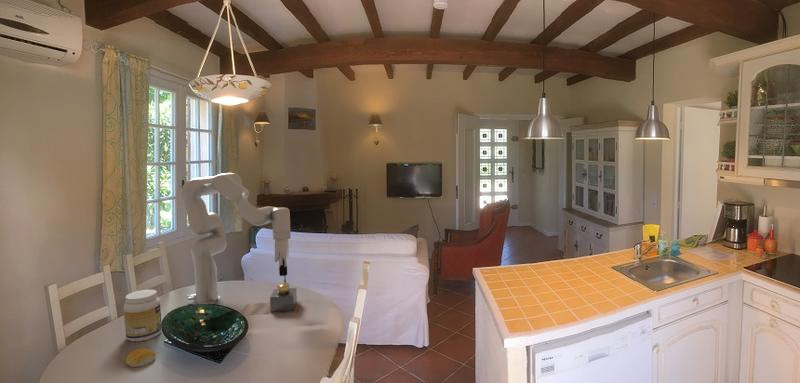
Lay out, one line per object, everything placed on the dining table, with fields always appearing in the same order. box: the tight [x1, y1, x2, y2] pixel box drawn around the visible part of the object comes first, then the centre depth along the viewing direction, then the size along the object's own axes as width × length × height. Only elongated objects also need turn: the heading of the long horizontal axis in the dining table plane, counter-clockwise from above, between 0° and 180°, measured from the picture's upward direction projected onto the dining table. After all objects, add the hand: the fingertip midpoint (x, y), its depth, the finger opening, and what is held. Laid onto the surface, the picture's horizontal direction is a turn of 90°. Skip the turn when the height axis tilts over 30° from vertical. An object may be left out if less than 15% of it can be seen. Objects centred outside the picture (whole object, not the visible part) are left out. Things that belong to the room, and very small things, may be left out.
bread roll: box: [125, 347, 157, 368], centre depth 137 cm, size 8×9×4 cm
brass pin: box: [276, 282, 290, 295], centre depth 179 cm, size 5×5×10 cm
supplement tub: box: [122, 289, 163, 342], centre depth 155 cm, size 12×12×17 cm
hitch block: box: [269, 287, 298, 312], centre depth 179 cm, size 10×10×7 cm
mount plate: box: [240, 300, 302, 316], centre depth 179 cm, size 25×13×2 cm, turn 97°
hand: (283, 275), depth 178 cm, fingers closed
